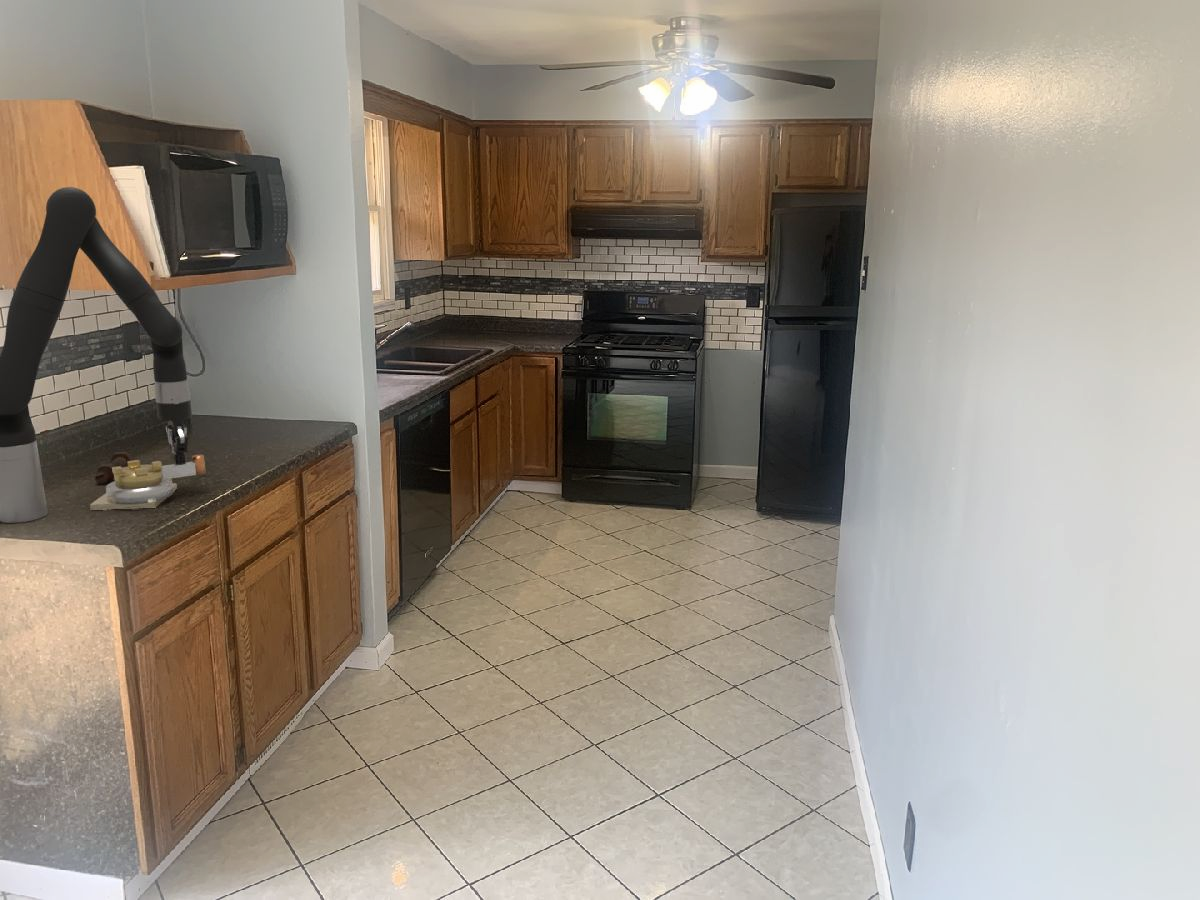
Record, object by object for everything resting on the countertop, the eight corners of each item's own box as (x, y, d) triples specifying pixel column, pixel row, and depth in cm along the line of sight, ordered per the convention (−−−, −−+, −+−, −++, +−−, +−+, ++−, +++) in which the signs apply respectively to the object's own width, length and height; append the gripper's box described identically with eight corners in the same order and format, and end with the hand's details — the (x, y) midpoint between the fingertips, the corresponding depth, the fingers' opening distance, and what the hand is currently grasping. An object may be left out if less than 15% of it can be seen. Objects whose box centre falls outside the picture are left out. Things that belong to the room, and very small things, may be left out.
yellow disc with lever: (119, 491, 205) (116, 472, 204) (111, 480, 213) (108, 463, 212) (210, 477, 216) (208, 459, 215) (200, 468, 224) (198, 451, 223)
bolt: (99, 492, 227) (122, 474, 241) (116, 482, 226) (138, 465, 241) (84, 473, 225) (108, 456, 239) (101, 463, 225) (124, 447, 239)
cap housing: (89, 512, 205) (86, 493, 204) (117, 490, 221) (115, 473, 220) (162, 509, 207) (160, 491, 206) (185, 488, 223) (183, 471, 222)
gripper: (150, 396, 218) (158, 464, 222) (161, 405, 207) (169, 477, 212) (183, 392, 222) (190, 460, 226) (196, 401, 212) (203, 472, 216)
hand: (180, 468), depth 219 cm, fingers closed
